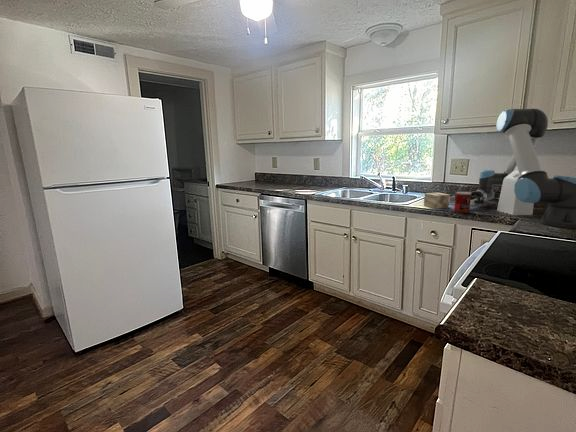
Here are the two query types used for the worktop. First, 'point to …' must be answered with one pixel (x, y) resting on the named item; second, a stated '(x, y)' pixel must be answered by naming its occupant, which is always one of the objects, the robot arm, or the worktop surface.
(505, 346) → the worktop surface
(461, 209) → the canned food
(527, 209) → the milk
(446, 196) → the maple brick
